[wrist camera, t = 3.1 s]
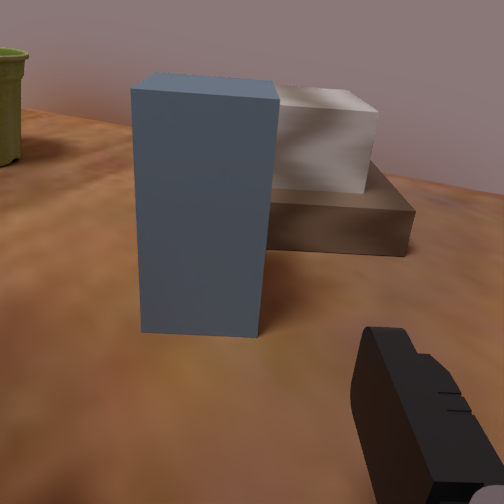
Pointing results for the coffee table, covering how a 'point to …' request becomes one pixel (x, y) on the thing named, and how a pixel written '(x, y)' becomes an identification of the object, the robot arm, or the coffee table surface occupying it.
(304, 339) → the coffee table surface
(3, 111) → the plant pot
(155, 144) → the slate brick
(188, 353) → the coffee table surface
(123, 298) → the coffee table surface
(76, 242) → the coffee table surface
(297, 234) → the tower base
